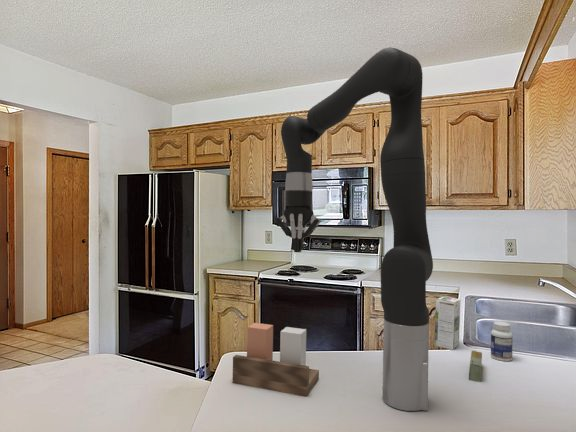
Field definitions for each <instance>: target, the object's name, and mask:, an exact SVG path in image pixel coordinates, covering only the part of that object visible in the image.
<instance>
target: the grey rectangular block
mask: <svg viewBox="0 0 576 432" xmlns="http://www.w3.org/2000/svg"><path fill="white" fill-rule="evenodd" d="M279 342H280V346H279V348H280V349H279V362H285V363H291V364H298V365H304V366H307V364H306V363H307V328H298V327H290V326H285V327H284V328H283V329H281V330H280V340H279Z"/></svg>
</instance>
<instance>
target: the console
mask: <svg viewBox="0 0 576 432" xmlns="http://www.w3.org/2000/svg"><path fill="white" fill-rule="evenodd" d="M319 378H320V370H319V369H314V368H310V366H308V365H306V366H304V365H298V364H291V363H285V362H280V360H279V361H277V360H273V361H272V360H266V359H260V358H253V357H247V355H246V356H245V355H241V354H240V355H239V354H235V355H234V356H232V381H231V383H233V384H238V385H243V386H248V387H254V388H259V389H264V390H271V391H276V392H280V393H284V394H285V393H286V394H290V395H297V396H302V397H308V396H309V393H310V392H311V391H312V390H313V388H314V386H315V385H316V384H317V382H318V380H319Z"/></svg>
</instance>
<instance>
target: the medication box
mask: <svg viewBox="0 0 576 432" xmlns="http://www.w3.org/2000/svg"><path fill="white" fill-rule="evenodd" d="M482 360H483V352H482V351H475V350H471V353H470V362H469V371H468V381H471V382H476V383H480V382H481V380H482V379H481V378H482V377H481V376H482V365H483V364H482Z"/></svg>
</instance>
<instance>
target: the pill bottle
mask: <svg viewBox="0 0 576 432" xmlns="http://www.w3.org/2000/svg"><path fill="white" fill-rule="evenodd" d="M493 328H494V329H491V332H490V356H491V358H492V359H494V360H497V361H502V362H510V361H512V360H513V352H514V351H513V350H514V349H513V347H514V346H513V342H514V335H513V332H511V331H510V330H511V324H510V323H509V322H508V323H507V322H505V321H494V323H493Z"/></svg>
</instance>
